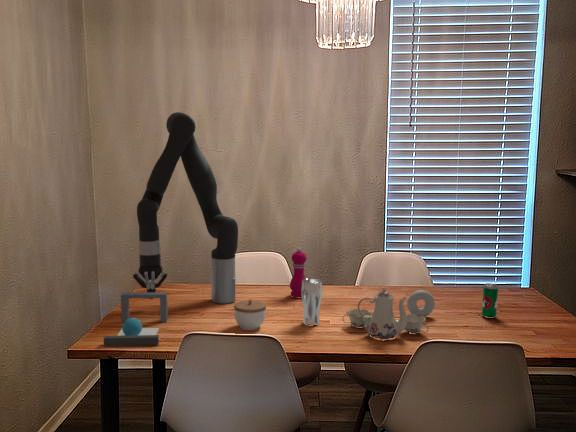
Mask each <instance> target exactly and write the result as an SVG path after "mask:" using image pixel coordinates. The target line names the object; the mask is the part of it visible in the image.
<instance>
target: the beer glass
mask: <svg viewBox="0 0 576 432" xmlns="http://www.w3.org/2000/svg"><path fill="white" fill-rule="evenodd" d="M322 281H323V280H321V279H319V278H306V279H304V280H302V298H301V302H302V309H303V317H302V322H303V323H304V324H307V325H315V324H319V323H320V324H321V320H320V308H321V304H322V296H323V287H322V286H323V283H322ZM303 323H302V324H303ZM304 324H303V325H304ZM320 324H319V325H320Z"/></svg>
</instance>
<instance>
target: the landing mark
mask: <svg viewBox="0 0 576 432" xmlns="http://www.w3.org/2000/svg"><path fill="white" fill-rule="evenodd" d="M159 329H160V328H159V327H142V330H141V332H140V334H139V335H158V332H159ZM116 336H126V335H125V334H124V333H123V330H122V328H121V329H120V331H119V332H118V334H116Z"/></svg>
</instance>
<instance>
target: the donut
mask: <svg viewBox="0 0 576 432" xmlns="http://www.w3.org/2000/svg"><path fill="white" fill-rule="evenodd" d="M420 300H422V301H424V306H423V307H418V301H420ZM435 302H436V301H435V298H434V296H433V295H432V293H430V292H429V291H427V290H423V289H418V290H415V291H413V292H412V293H411V294H409V296H408V298H407V300H406V307H407V310H408V312H409V314H415V315H417V316H418V317H419V316H424V317H425V316H426V317H428V316H429V315H431V313H433V311H434V310H435V305H436V303H435ZM426 317H425V318H426Z"/></svg>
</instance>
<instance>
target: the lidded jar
mask: <svg viewBox="0 0 576 432" xmlns="http://www.w3.org/2000/svg"><path fill="white" fill-rule="evenodd" d="M233 312H234V320H235V322H236V324H237V325H238V326H239V327H240V328H241V329H242V330H244V331H256V330H258V329H259V328H260V327H261V326H262V324H263V323H264V321H265V319H266V313H267V304H266V303H265V302H263V301H261V300H260V301H259V300H252V299H248V300H242V301H238V302H234V304H233ZM255 329H256V330H255Z"/></svg>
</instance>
